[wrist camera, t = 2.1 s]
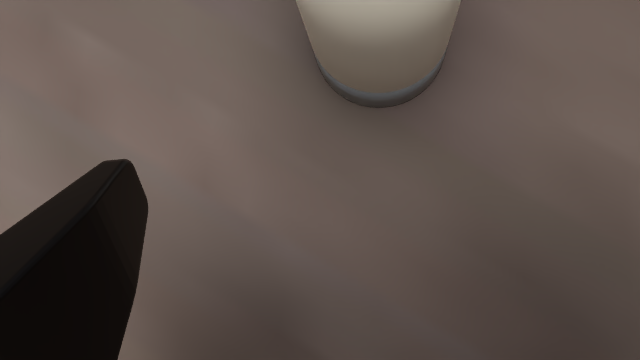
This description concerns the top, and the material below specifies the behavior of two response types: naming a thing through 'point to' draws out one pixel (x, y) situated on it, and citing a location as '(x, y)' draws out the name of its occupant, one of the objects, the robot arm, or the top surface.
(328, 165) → the top surface
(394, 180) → the top surface
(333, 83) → the sleeve
